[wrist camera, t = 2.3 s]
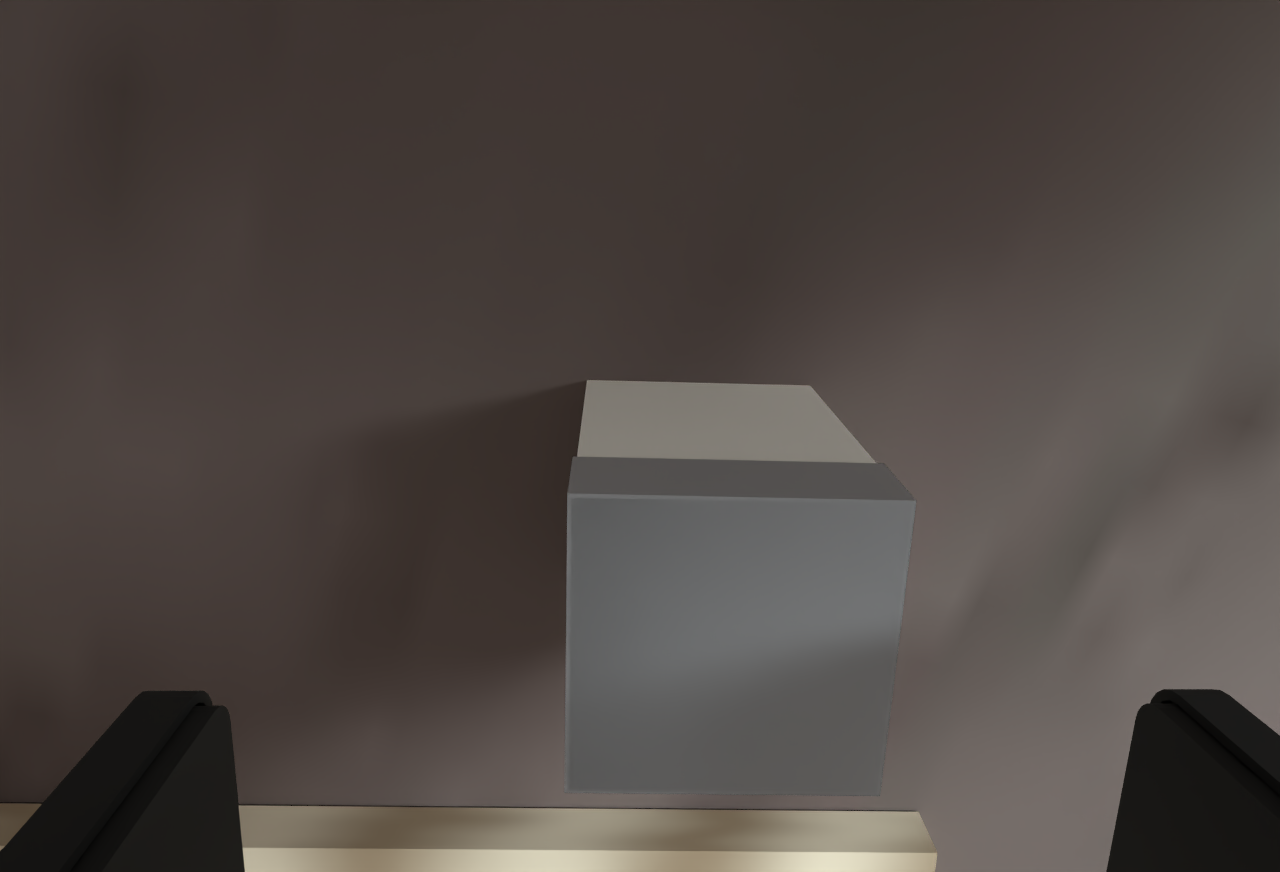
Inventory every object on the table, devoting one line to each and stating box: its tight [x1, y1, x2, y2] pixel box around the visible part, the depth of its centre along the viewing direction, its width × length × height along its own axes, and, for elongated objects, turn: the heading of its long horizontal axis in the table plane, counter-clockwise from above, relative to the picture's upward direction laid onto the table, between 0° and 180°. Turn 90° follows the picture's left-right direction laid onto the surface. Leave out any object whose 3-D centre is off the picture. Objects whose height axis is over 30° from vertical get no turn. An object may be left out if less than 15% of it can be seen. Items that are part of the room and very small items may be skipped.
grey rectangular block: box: [565, 380, 916, 796], centre depth 14 cm, size 4×4×6 cm
